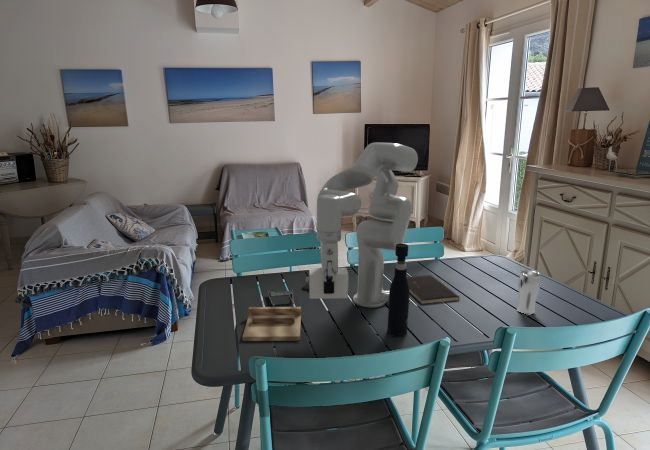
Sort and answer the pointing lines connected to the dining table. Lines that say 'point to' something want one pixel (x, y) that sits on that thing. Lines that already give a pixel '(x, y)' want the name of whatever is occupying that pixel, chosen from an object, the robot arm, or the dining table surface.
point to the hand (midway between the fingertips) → (328, 288)
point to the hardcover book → (429, 289)
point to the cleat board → (273, 324)
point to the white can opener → (528, 291)
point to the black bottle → (399, 295)
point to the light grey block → (317, 283)
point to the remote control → (306, 287)
